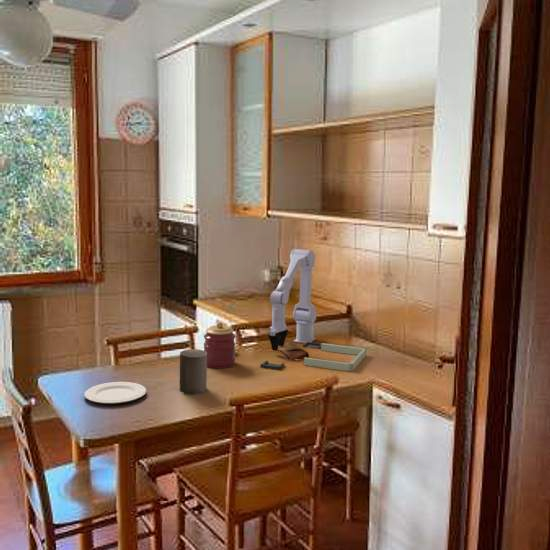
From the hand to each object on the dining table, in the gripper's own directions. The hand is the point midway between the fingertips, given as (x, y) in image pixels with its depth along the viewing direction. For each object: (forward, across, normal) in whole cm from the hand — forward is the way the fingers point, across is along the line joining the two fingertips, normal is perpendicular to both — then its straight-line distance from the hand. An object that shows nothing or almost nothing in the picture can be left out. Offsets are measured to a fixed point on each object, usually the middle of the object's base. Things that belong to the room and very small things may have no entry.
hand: (277, 348), depth 267 cm
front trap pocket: (+2, +20, +5) cm, 21 cm away
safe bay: (+2, 0, +26) cm, 26 cm away
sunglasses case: (+3, 0, +6) cm, 7 cm away
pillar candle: (+2, +57, -10) cm, 58 cm away
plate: (+2, +74, -31) cm, 81 cm away
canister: (+2, +26, -16) cm, 30 cm away
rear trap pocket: (+2, -16, +11) cm, 19 cm away
